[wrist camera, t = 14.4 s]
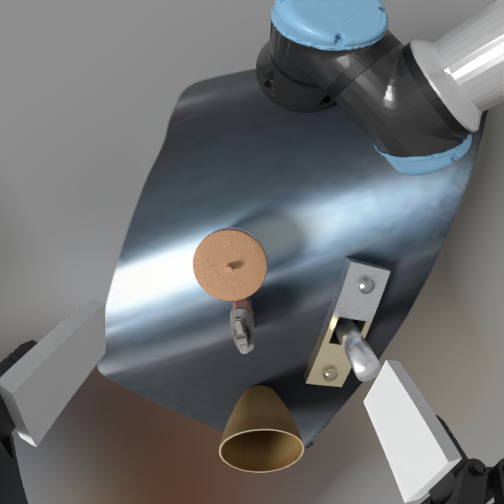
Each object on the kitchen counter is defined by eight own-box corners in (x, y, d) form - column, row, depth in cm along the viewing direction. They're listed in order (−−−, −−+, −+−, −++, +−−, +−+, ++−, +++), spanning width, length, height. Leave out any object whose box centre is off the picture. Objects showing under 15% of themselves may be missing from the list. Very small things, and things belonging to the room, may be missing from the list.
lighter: (257, 328, 52) (257, 359, 42) (238, 331, 52) (235, 362, 42) (249, 289, 50) (248, 314, 40) (230, 292, 50) (224, 317, 40)
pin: (337, 314, 51) (362, 359, 36) (355, 317, 51) (385, 361, 37) (330, 332, 52) (352, 380, 37) (348, 335, 52) (374, 381, 38)
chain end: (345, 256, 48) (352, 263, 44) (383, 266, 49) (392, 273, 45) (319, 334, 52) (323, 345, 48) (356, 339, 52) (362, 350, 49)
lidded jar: (240, 208, 47) (236, 215, 38) (278, 260, 49) (283, 278, 40) (189, 246, 48) (175, 261, 39) (228, 294, 50) (222, 319, 41)
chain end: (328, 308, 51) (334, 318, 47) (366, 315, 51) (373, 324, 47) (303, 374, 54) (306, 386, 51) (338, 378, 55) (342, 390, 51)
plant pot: (225, 417, 58) (219, 471, 42) (226, 369, 54) (218, 426, 39) (290, 419, 58) (296, 473, 42) (299, 372, 54) (311, 429, 39)
